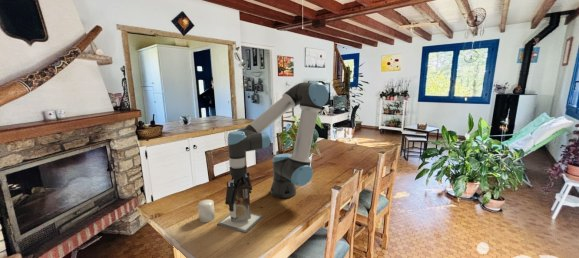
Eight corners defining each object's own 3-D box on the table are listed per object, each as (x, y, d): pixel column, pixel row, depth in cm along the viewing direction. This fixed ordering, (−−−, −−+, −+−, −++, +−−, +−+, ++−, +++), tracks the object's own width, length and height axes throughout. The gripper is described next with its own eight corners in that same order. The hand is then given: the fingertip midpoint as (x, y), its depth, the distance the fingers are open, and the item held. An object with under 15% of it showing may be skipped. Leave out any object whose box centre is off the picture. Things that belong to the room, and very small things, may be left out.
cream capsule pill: (206, 213, 123) (205, 198, 121) (217, 216, 120) (216, 201, 118) (196, 220, 117) (194, 204, 115) (207, 224, 114) (206, 208, 112)
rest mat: (236, 210, 126) (236, 209, 125) (263, 217, 119) (263, 216, 119) (217, 224, 113) (217, 223, 113) (246, 233, 106) (246, 231, 106)
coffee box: (249, 212, 120) (248, 181, 117) (251, 219, 114) (249, 186, 111) (230, 214, 118) (228, 183, 114) (230, 222, 111) (228, 188, 108)
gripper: (245, 157, 122) (247, 199, 127) (213, 172, 102) (217, 221, 107) (258, 159, 119) (260, 202, 124) (228, 175, 99) (231, 225, 103)
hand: (240, 211), depth 115 cm, fingers closed on coffee box, 10 cm apart
